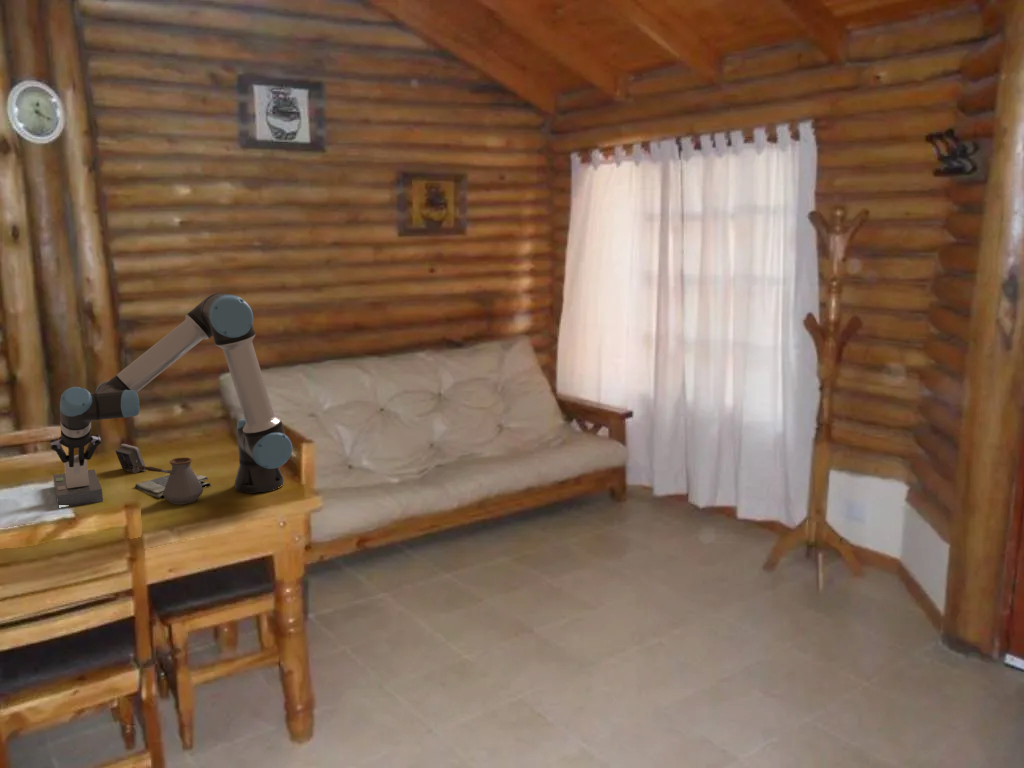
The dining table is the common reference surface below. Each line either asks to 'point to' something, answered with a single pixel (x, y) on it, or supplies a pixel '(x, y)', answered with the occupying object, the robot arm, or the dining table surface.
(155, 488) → the dish towel
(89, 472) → the box
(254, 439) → the robot arm
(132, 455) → the electrical switch
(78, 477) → the handle
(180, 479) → the coffee pot
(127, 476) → the dining table surface
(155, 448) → the dining table surface
